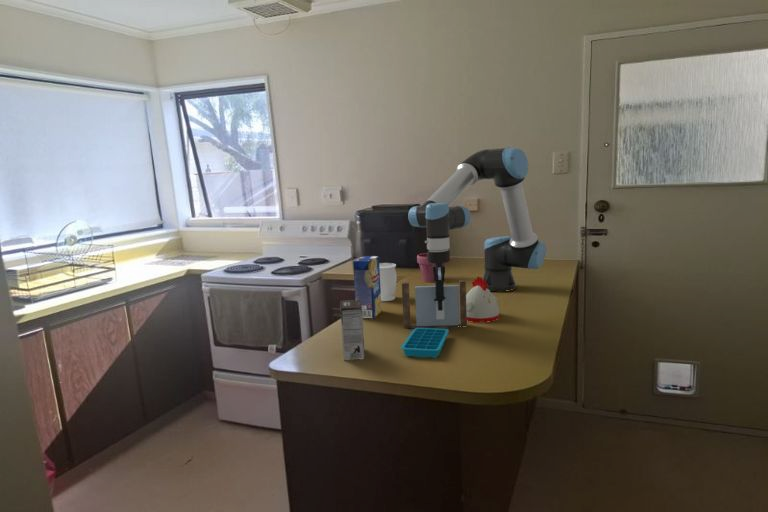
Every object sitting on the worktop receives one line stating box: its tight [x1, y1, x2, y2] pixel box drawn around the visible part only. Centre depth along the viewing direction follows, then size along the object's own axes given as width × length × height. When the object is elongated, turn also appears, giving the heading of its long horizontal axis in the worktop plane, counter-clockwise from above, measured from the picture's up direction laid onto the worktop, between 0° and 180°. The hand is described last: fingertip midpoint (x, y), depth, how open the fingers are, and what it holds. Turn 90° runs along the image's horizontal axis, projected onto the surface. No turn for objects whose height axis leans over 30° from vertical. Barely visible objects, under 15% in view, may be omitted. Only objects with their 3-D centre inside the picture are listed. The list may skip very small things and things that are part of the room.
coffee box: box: [339, 299, 365, 361], centre depth 153 cm, size 9×6×16 cm
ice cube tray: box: [400, 328, 450, 359], centre depth 158 cm, size 12×20×3 cm, turn 164°
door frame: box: [401, 279, 468, 330], centre depth 176 cm, size 22×4×16 cm, turn 86°
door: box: [414, 284, 460, 326], centre depth 177 cm, size 15×3×14 cm, turn 86°
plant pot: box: [416, 252, 445, 283], centre depth 249 cm, size 14×14×13 cm
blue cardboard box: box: [352, 255, 383, 319], centre depth 194 cm, size 7×11×22 cm, turn 164°
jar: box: [379, 262, 398, 302], centre depth 217 cm, size 11×10×15 cm
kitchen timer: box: [466, 276, 500, 323], centre depth 185 cm, size 14×14×15 cm
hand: (440, 318), depth 172 cm, fingers closed
